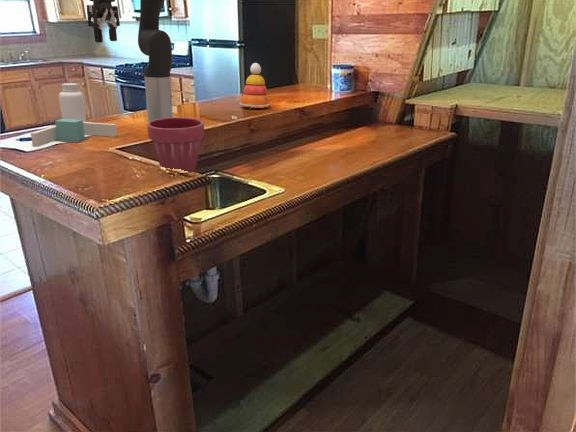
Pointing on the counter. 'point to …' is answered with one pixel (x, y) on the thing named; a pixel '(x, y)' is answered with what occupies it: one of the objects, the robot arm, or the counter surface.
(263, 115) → the counter surface
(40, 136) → the beige l-shaped wall
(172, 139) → the plant pot
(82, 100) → the pill bottle
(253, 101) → the stacking toy
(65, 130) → the teal block
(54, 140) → the pad
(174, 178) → the counter surface
